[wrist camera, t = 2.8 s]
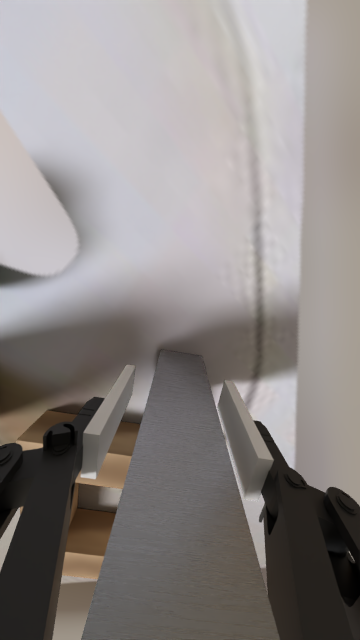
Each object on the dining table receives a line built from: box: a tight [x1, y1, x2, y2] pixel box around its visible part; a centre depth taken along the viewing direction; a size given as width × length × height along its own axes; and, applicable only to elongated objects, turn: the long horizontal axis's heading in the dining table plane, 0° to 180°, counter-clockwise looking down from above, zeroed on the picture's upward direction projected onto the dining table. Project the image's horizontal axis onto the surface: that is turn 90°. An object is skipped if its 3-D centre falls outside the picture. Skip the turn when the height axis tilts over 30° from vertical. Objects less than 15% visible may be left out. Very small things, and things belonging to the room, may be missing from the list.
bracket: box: [81, 349, 280, 640], centre depth 11 cm, size 7×4×14 cm, turn 170°
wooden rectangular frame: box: [16, 410, 141, 579], centre depth 19 cm, size 18×14×4 cm
